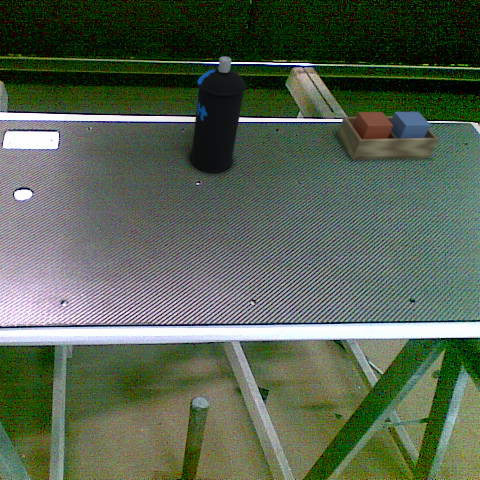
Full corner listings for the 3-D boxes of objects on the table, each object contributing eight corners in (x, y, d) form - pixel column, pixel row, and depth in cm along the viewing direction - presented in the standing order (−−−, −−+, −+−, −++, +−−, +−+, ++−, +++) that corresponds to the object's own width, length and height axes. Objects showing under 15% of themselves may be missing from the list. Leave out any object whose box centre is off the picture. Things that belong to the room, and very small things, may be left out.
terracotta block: (372, 135, 98) (382, 111, 94) (382, 149, 94) (393, 125, 90) (349, 136, 97) (358, 112, 93) (358, 150, 94) (368, 125, 90)
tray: (409, 134, 101) (418, 115, 97) (429, 158, 95) (439, 139, 91) (337, 135, 99) (343, 116, 96) (352, 159, 93) (360, 140, 90)
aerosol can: (235, 152, 93) (254, 52, 79) (228, 177, 88) (247, 73, 73) (195, 145, 95) (205, 45, 80) (185, 168, 89) (195, 65, 75)
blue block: (407, 135, 98) (418, 111, 95) (418, 149, 95) (430, 125, 91) (384, 135, 98) (394, 111, 94) (394, 149, 94) (406, 125, 91)
